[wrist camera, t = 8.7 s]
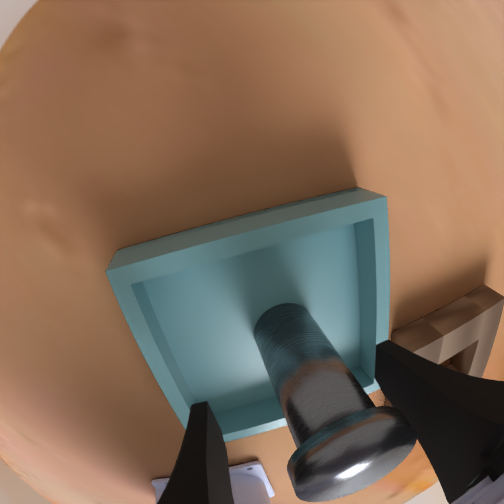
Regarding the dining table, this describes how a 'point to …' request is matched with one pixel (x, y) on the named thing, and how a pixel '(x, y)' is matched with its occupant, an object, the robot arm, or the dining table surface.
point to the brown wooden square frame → (456, 332)
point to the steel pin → (327, 410)
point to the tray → (256, 300)
